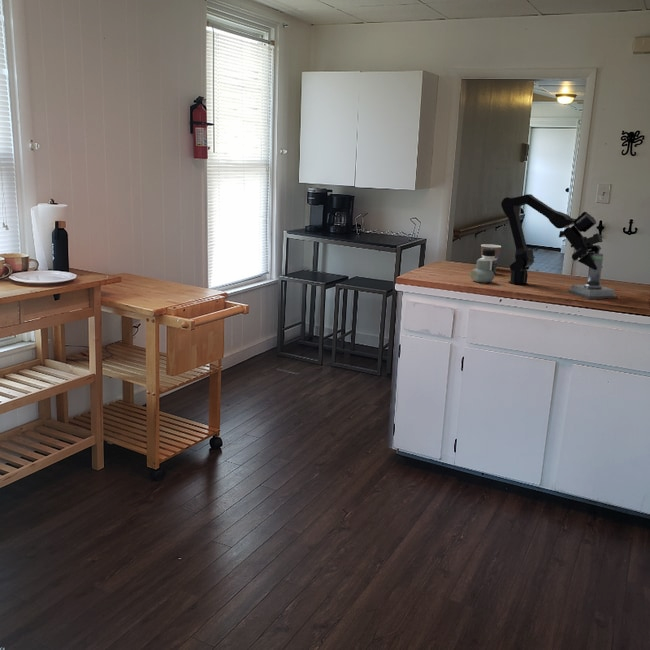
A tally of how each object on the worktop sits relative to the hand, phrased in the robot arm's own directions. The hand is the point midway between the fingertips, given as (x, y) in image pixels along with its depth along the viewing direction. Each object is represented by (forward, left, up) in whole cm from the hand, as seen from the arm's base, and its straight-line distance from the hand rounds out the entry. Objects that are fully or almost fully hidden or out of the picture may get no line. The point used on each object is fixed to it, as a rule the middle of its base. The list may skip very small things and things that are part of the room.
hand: (599, 268), depth 280 cm
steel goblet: (-1, +1, -8) cm, 8 cm away
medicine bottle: (-19, +57, -12) cm, 61 cm away
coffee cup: (-11, +69, -12) cm, 71 cm away
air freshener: (-34, +35, -12) cm, 50 cm away
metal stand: (-1, +1, -11) cm, 12 cm away
